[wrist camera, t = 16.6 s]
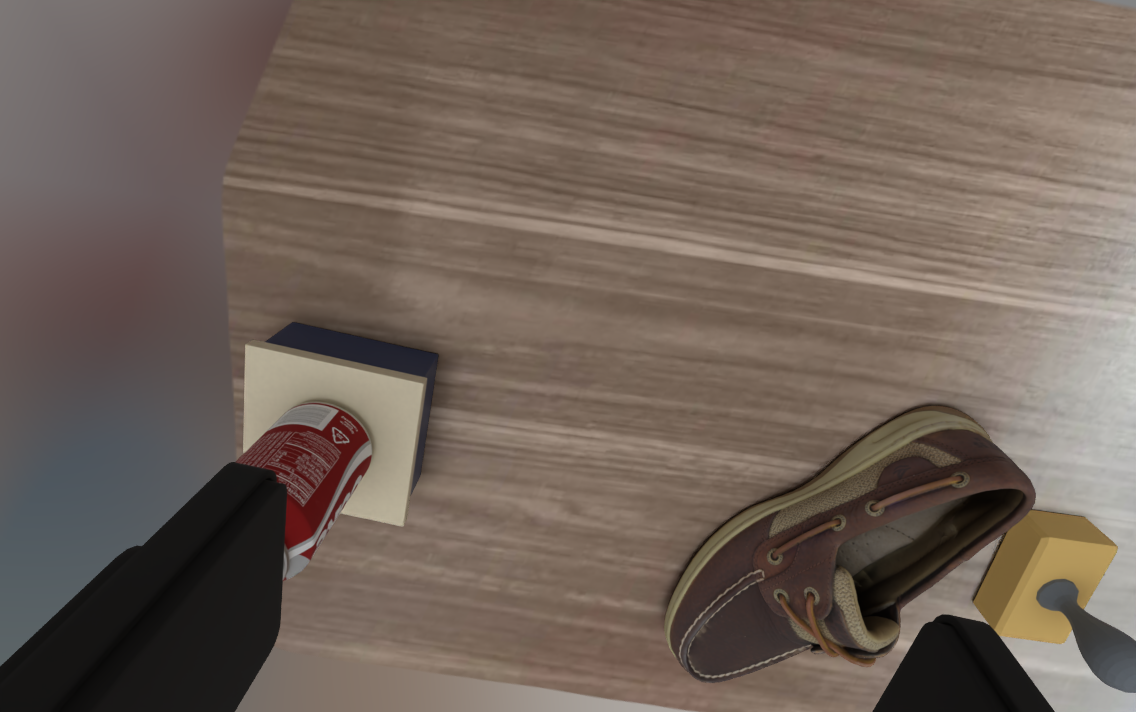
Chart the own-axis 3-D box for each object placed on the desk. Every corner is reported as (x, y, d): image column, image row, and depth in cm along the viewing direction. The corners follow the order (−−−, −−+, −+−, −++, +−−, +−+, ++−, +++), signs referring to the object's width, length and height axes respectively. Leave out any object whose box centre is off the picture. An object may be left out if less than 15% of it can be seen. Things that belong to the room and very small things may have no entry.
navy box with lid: (281, 450, 51) (241, 492, 46) (287, 315, 47) (244, 344, 41) (424, 481, 52) (403, 527, 46) (444, 350, 47) (423, 383, 42)
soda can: (280, 388, 42) (165, 491, 31) (378, 406, 42) (299, 514, 31) (280, 472, 45) (174, 594, 34) (373, 488, 45) (298, 615, 34)
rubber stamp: (1015, 507, 50) (1133, 623, 39) (1087, 516, 50) (1226, 636, 39) (969, 602, 54) (1065, 733, 42) (1036, 611, 54) (1149, 745, 42)
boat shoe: (708, 660, 58) (730, 779, 47) (626, 591, 55) (631, 702, 45) (1012, 466, 48) (1121, 563, 38) (931, 372, 46) (1024, 449, 36)
